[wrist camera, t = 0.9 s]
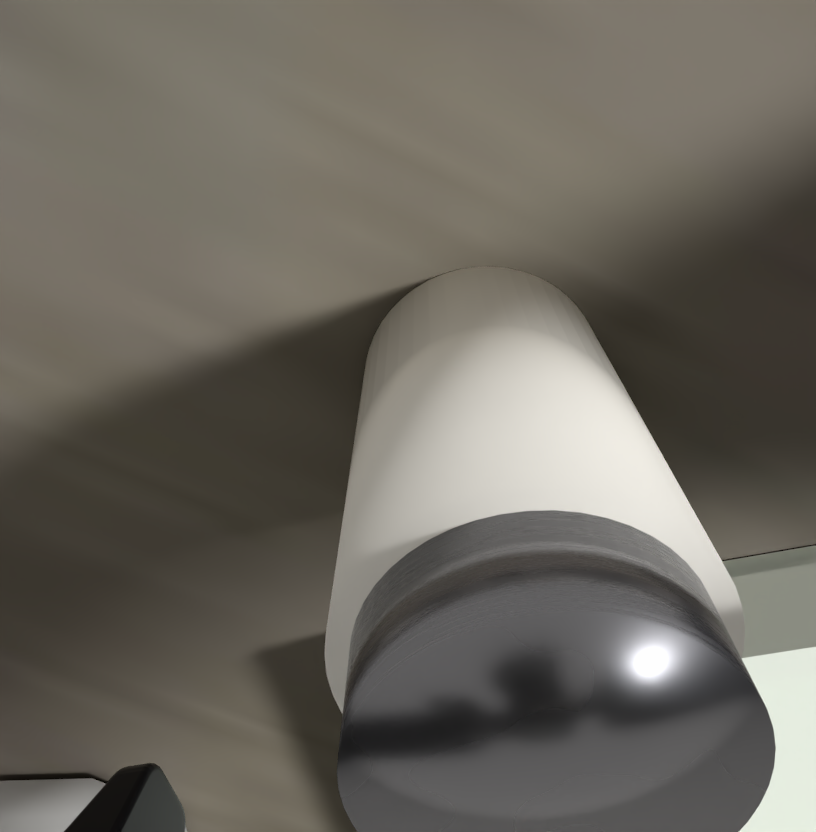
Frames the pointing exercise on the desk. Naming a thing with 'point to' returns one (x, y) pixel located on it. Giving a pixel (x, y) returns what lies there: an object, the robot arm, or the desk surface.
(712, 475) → the desk surface
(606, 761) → the cylinder
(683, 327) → the desk surface
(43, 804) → the flask
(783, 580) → the tray
